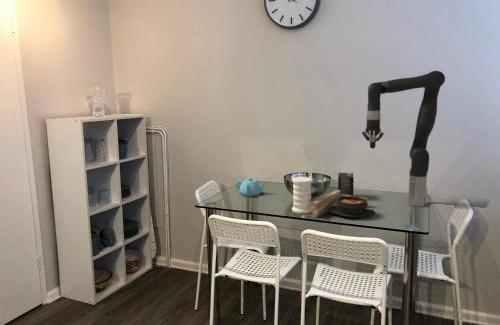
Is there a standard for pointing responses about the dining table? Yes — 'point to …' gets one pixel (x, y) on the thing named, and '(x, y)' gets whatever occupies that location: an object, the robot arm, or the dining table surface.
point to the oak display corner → (326, 203)
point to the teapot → (249, 187)
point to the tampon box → (346, 183)
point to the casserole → (351, 207)
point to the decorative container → (302, 195)
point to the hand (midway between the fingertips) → (372, 148)
